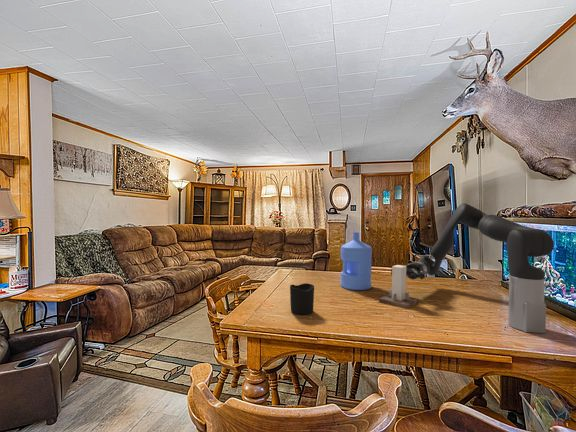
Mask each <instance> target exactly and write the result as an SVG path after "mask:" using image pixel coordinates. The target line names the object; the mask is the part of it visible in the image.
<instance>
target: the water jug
mask: <svg viewBox="0 0 576 432" xmlns="http://www.w3.org/2000/svg"><path fill="white" fill-rule="evenodd" d="M372 253H373V251H372V246H370V245H369V244H368V243H367V244H366V243H365V242H363V241H361V240H360V232H357V231H356V232H353V231H352V240H351V241H349V242H347V243H344V244H342V245H341V246H340V260H341V261H342V270H341V272H340V280H339V281H340V286H341V287H342V288H343V289H345V290H350V291H367V290H369V289H371V288H372V268H373V267H372V256H373V255H372Z"/></svg>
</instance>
